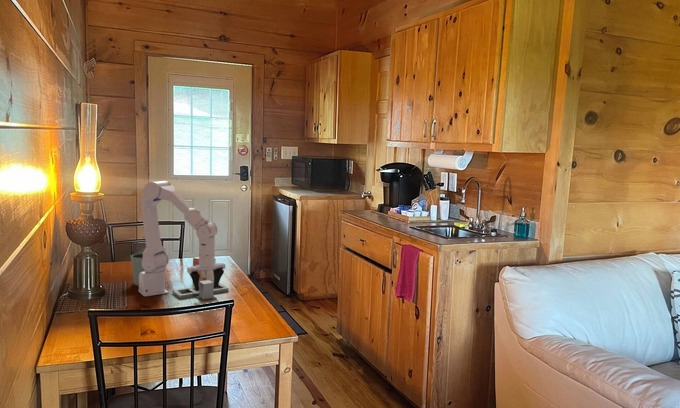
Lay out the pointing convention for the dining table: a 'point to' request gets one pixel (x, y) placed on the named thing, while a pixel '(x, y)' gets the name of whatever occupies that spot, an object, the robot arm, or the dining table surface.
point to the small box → (204, 274)
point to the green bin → (137, 266)
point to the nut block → (206, 289)
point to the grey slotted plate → (193, 292)
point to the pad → (205, 299)
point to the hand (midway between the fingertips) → (206, 289)
